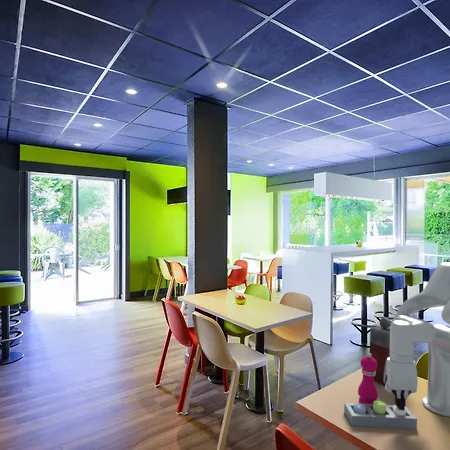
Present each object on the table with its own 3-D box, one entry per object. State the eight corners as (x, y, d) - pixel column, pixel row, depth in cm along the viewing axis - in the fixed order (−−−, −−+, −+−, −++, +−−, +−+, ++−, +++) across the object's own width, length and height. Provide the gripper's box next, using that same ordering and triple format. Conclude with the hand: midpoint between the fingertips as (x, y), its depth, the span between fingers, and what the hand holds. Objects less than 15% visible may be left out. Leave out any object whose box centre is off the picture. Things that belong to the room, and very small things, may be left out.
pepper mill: (379, 411, 122) (381, 357, 122) (359, 408, 124) (361, 355, 124) (375, 400, 130) (376, 350, 129) (355, 398, 131) (357, 348, 131)
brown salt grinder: (401, 381, 147) (403, 318, 146) (387, 387, 140) (389, 322, 140) (382, 373, 154) (384, 313, 154) (368, 378, 148) (370, 317, 148)
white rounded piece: (401, 416, 118) (402, 405, 118) (407, 423, 114) (408, 412, 114) (390, 416, 119) (391, 405, 118) (396, 422, 115) (396, 411, 114)
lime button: (382, 411, 119) (382, 400, 119) (387, 418, 115) (387, 407, 115) (371, 411, 119) (371, 400, 119) (375, 417, 115) (376, 406, 115)
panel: (404, 415, 120) (404, 405, 120) (416, 428, 112) (417, 418, 112) (344, 412, 121) (344, 402, 121) (351, 425, 113) (352, 415, 113)
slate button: (362, 414, 119) (363, 403, 119) (367, 421, 115) (367, 410, 115) (351, 414, 119) (351, 403, 119) (355, 421, 115) (355, 409, 115)
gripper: (417, 352, 120) (415, 402, 120) (375, 351, 120) (374, 401, 121) (429, 361, 112) (427, 414, 113) (384, 360, 113) (383, 413, 113)
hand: (400, 407), depth 117 cm, fingers closed
